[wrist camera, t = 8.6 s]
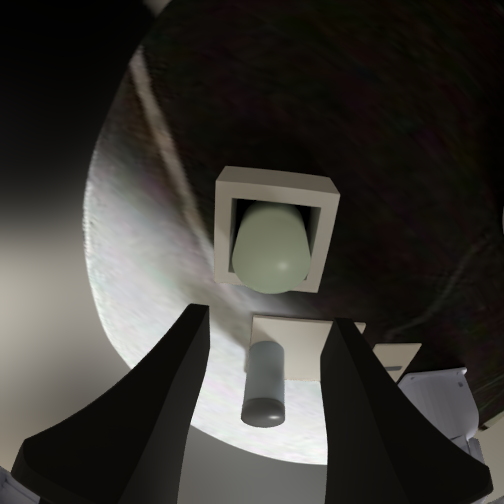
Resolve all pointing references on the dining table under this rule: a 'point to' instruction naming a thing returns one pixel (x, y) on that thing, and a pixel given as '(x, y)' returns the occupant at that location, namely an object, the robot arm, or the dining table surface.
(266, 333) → the paper
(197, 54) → the dining table surface
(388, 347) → the card
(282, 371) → the grey capped cylinder
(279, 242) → the plunger
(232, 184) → the button collar
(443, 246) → the dining table surface
